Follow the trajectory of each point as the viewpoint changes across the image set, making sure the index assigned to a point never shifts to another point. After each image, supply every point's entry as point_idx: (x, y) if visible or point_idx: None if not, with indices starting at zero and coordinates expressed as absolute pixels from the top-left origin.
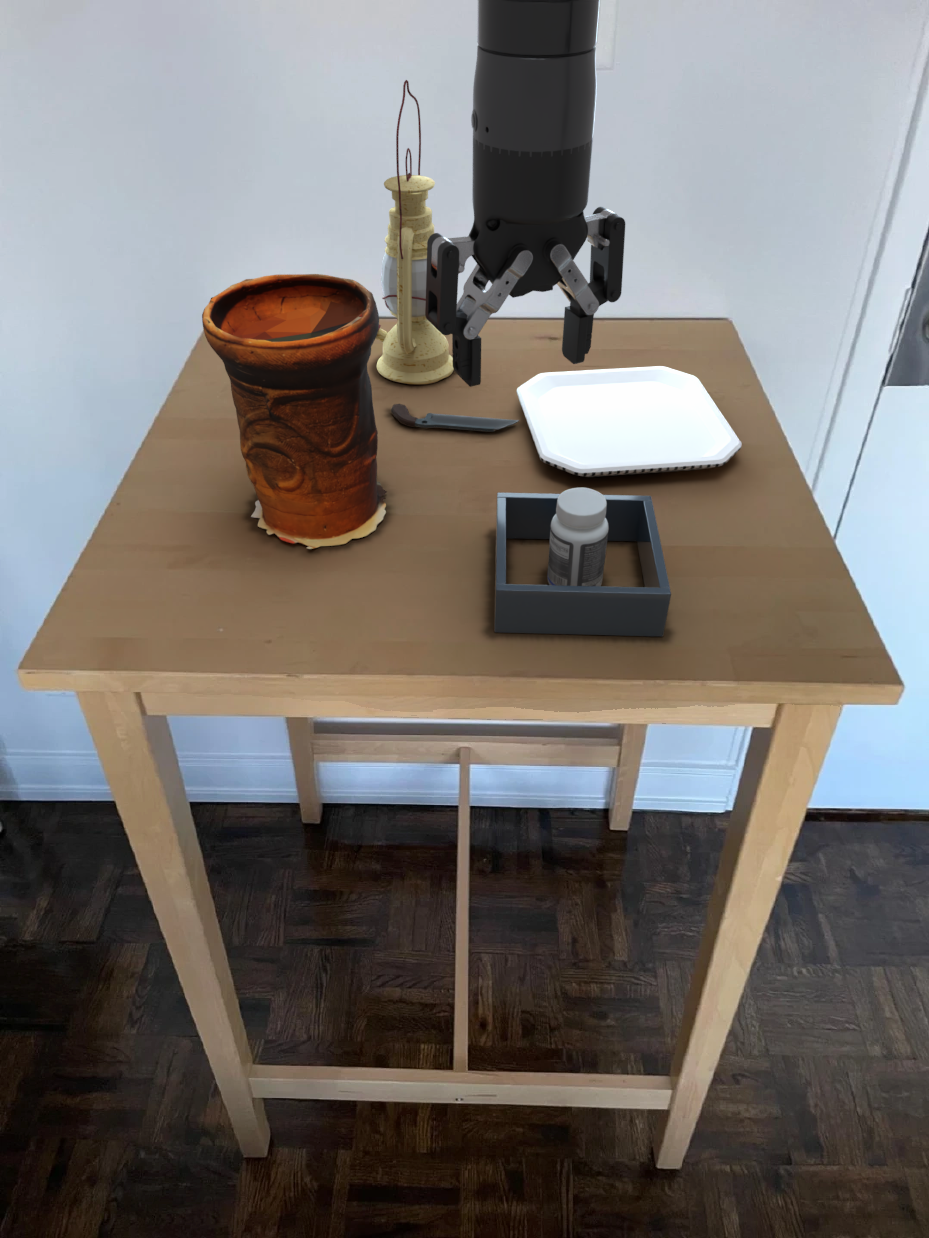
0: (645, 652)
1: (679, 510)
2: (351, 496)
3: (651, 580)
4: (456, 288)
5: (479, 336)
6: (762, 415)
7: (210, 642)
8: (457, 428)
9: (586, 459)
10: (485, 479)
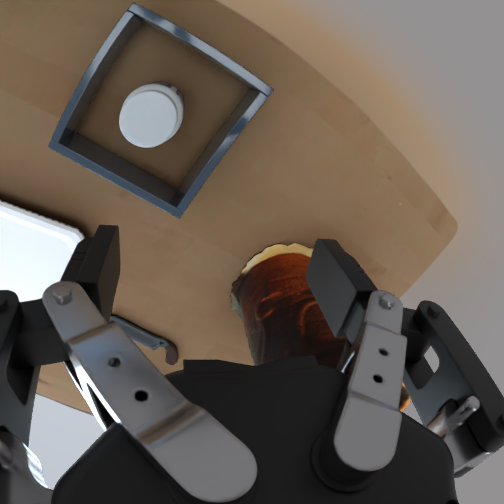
0: (167, 4)
1: (21, 158)
2: (289, 272)
3: (115, 50)
4: (459, 368)
5: (353, 298)
6: None
7: (409, 197)
8: (140, 329)
9: (62, 248)
10: (148, 268)
